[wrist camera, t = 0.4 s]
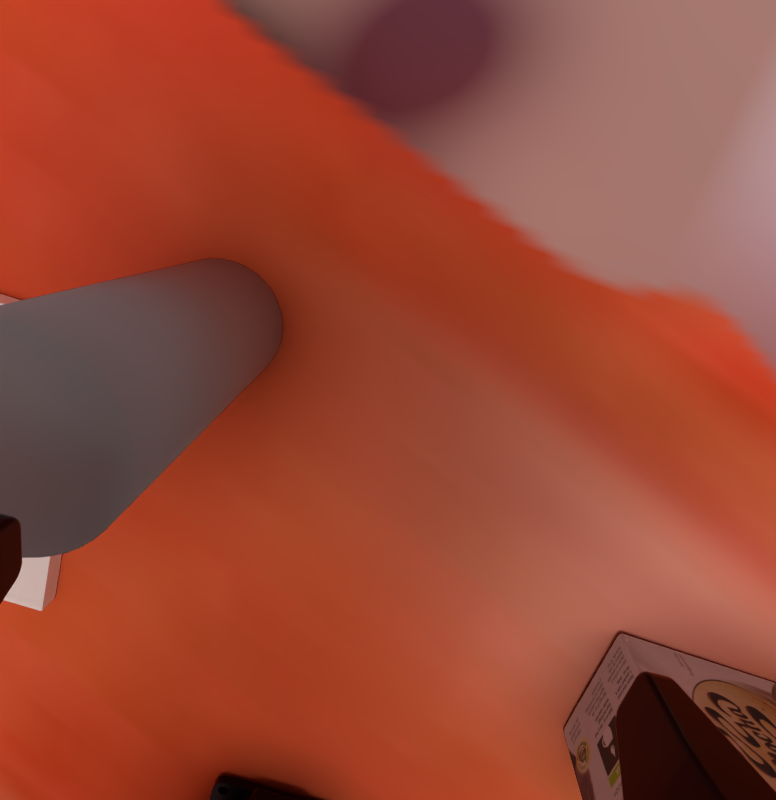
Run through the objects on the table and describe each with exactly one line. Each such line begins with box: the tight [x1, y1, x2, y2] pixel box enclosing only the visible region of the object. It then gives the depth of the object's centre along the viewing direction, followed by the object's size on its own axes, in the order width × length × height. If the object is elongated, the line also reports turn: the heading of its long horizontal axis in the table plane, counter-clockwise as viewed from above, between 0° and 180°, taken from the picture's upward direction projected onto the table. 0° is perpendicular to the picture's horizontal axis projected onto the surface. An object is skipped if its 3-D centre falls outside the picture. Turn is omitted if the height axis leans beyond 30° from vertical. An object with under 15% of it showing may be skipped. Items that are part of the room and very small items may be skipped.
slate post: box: [0, 259, 283, 558], centre depth 17 cm, size 5×5×12 cm
